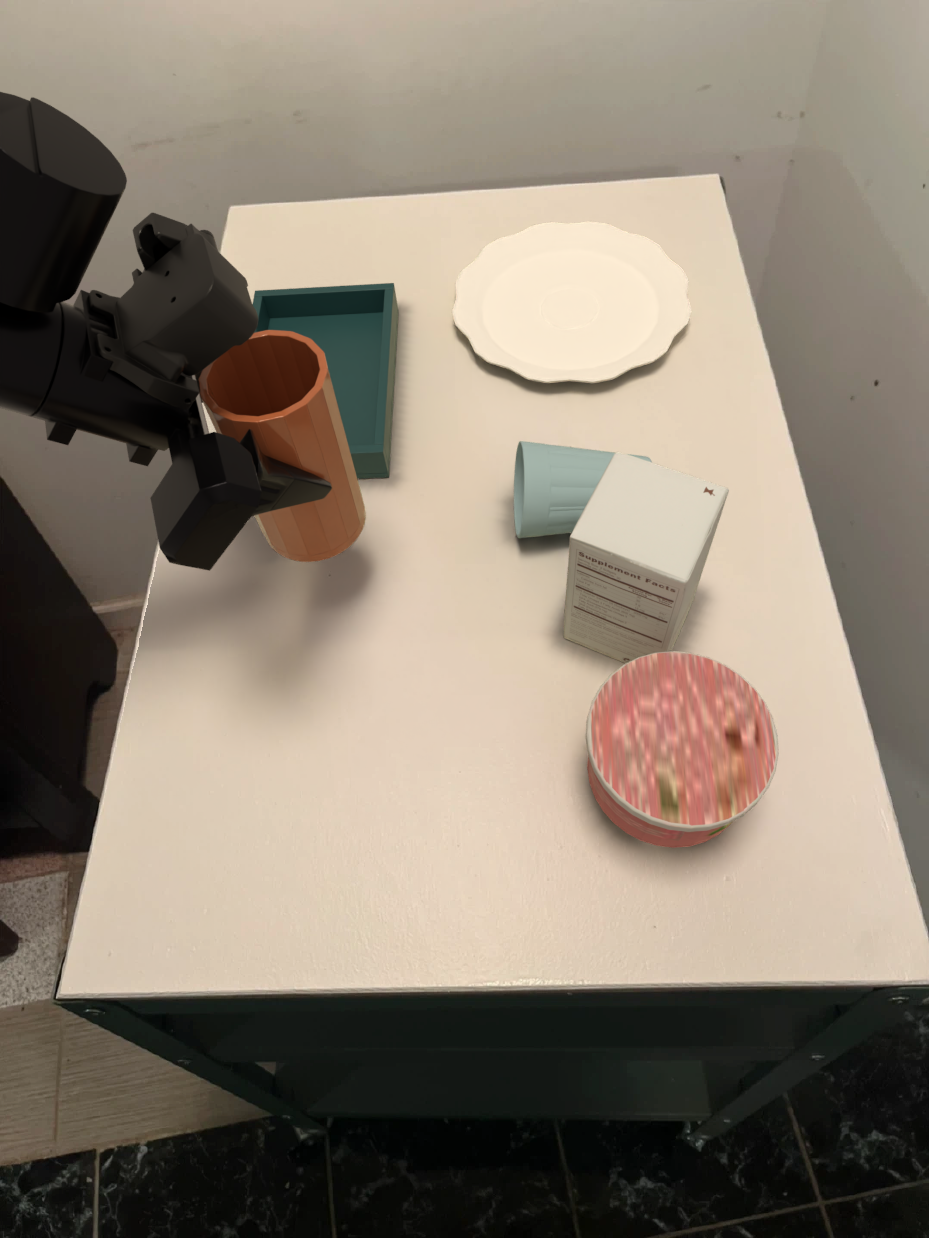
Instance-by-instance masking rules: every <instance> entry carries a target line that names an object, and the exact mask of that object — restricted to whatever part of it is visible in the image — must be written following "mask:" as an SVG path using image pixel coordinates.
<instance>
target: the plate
mask: <svg viewBox="0 0 929 1238" xmlns="http://www.w3.org/2000/svg"><path fill="white" fill-rule="evenodd" d="M689 283H690V282H689V278H688V276H687V274H686V272H685V271H684V268H683V267H682V266H680V265H679V264H678V263H676V262H675V261H674V260H672V259H671V258H670V257H669V256H668V255H667V253H666V252H665V250H664V249H663V248H662V246H661V245H660V244H659V243H657V242H655V241H654V240H653V239H651V238H649V237H647V236H645V235H642V234H637V233H634V232H630V231H626V230H623V229H621V228H619V227H617V226H615V225H612V224H610V223H607V222H600V221H594V220H593V221H592V220H588V221H580V222H557V221H547V222H542V223H537V224H532V225H530V226H528V227H526V228H524V229H522V230H520V231H518V232H516V233H512V234H508V235H506V236H505V235H504V236H502V237H498V238H495V239H494V240H493V241H491V242H489V243H487V244H486V245H485V246H483V247H482V249H481V250H480V252H479V253H478V255H477V256H476V257H475V259H474V260H472V262H470V263H469V264H468V265H466V266H465V267H464V268H462V269H461V270H460V271H459V274H458V275H457V278H456V279H455V282H454V288H455V301H454V304H453V306H452V310H451V315H452V318H453V322H454V325H455V328H457V329H458V330H459V332H461V333H462V334H463V336H464V337H466V338H467V339H468V342H469V344H470V345H471V348H472V349H473V352H474V353H475V355H477V356H478V357H479V358H481V359H482V360H484V362H486V363H488V364H490V365H493V366H497V367H500V368H503V369H507V370H509V371H511V372H513V373H515V374H516V375H518V376H520V377H522V378H524V379H525V380H526V381H527V380H528V381H532V382H537V383H543V384H553V383H563V382H576V383H584V384H585V383H587V384H597V383H602V382H607V381H608V382H609V381H611V380H612V381H613V380H614V379H617V378H619V377H620V376H621V375H624V374H625V373H627V372H629V371H630V370H633V369H636V368H639V367H643V366H647V365H650V364H653V363H654V362H656V361H658V360H659V359H660V358H661V357H663V356H664V355H665V354H667V353H668V350H669V349H670V347H671V345H672V343H673V341H674V339H675V337H677V336H678V334H680V333H681V332H682V330H684V329H685V328H686V327H687V326H688V324H689V320H690V317H691V314H692V312H693V311H692V306H691V303H690V300H689V296H688V292H689V291H688V290H689Z"/></svg>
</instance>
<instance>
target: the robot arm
mask: <svg viewBox="0 0 929 1238" xmlns="http://www.w3.org/2000/svg"><path fill="white" fill-rule="evenodd" d="M127 182H128V179H127V175H126V173H125V170H124V169H123V166H122V164H121V163H120V161H119V160H118V159H117V157H116V156H115V155H114V154H113V152H112V151H111V150H110V149H109V148H108V147H107V146H106V145H105V144H104V143H103V142H102V141H101V139H99V138H98V137H97V136H96V135H94V134H93V133H92V132H91V131H89V130H88V129H87V128H86V127H85V126H83V125H82V124H80V123H79V122H78V121H76V120H75V119H73V118H72V117H70V116H69V115H67V114H66V113H64V112H62V111H61V110H59V109H58V108H55V107H54V106H52V105H51V104H48V103H47V102H45V101H43V100H41V99H38V98H36V97H33V96H31V97H30V99H26V98H24V97H21V96H18V95H15V94H12V93H8V92H3V91H0V409H1V410H5V411H9V412H13V413H16V414H21V415H24V416H26V417H31V418H34V419H37V420H40V421H44V425H45V433H46V440H47V441H49V442H54V443H58V444H61V445H65V446H69V445H70V443H71V441H72V439H73V437H74V436H75V434H76V432H77V431H81V432H84V433H87V434H91V435H94V436H97V437H102V438H105V439H109V440H112V441H116V442H120V443H122V444H125V445H126V450H127V457H128V461H129V463H134V464H138V465H140V466H145V467H149V465H150V464H151V463H152V461H153V459H154V458H155V455H156V454H157V453H158V451H162V452H165V451H167V450H168V449H169V454H170V459H171V465H170V467H169V468H168V470H167V471H166V473H165V474H164V475H163V477H162V478H161V480H160V482H159V484H158V485H157V487H156V488H155V490H154V491H153V493H152V495H150V497H149V498H150V499H149V500H150V504H151V508H152V509H151V510H152V514H153V520H154V525H155V531H156V534H157V535H156V536H157V540H158V546H159V549H160V551H161V552H162V554H163V556H164V557H165V558H166V559H167V561H168V563H170V564H174V565H177V566H182V567H187V568H194V569H199V570H202V571H211V570H212V569H213V567H214V566H215V565H216V563H217V562H218V561H219V560H220V558H221V557H222V556H223V555H224V553H225V552H226V550H227V549H228V548H229V546H230V545H231V544H232V542H233V541H234V540H235V539H236V537H237V536H238V535H239V533H240V532H241V531H242V529H243V528H244V527H245V525H246V524H247V523H248V521H250V519H251V518H252V517H255V515H258V514H262V513H266V512H269V511H273V510H278V509H282V508H286V507H291V506H295V505H299V504H303V503H308V502H312V501H316V500H320V499H323V498H325V497H326V496H327V494H328V493H329V492H330V491H331V489H332V486H331V483H330V482H328V481H326V480H324V479H322V478H320V477H318V476H317V475H314V474H312V473H310V472H307V471H305V470H302V469H299V468H297V467H294V466H292V465H289V464H287V463H284V462H281V461H279V460H276V459H274V458H271V457H269V456H266V455H264V454H263V453H262V452H261V449H260V447H259V445H258V442H257V440H256V437H255V435H254V433H253V431H252V430H251V429H249V430H248V431H247V433H246V434H245V436H244V437H243V438H242V440H241V441H240V443H239V442H238V441H237V440H236V439H235V438H233V437H230V436H226V435H223V434H220V433H217V432H216V431H212V432H210V431H209V427H208V422H207V418H206V415H205V411H204V406H203V401H202V399H201V397H200V388H199V377H200V375H201V373H202V370H203V369H205V368H206V367H207V366H209V365H210V364H211V363H212V362H214V361H215V360H216V359H218V358H219V357H220V356H222V355H223V354H224V353H226V352H227V351H228V350H229V349H231V348H232V347H233V346H240V345H242V344H243V343H245V342H246V341H247V340H248V339H249V338H250V337H251V336H252V335H253V334H254V332H255V330H256V328H257V325H258V315H257V311H256V310H255V308H254V307H253V305H252V304H253V301H252V299H251V295H250V293H249V290H248V287H249V283H248V279H247V277H245V276H244V274H242V273H241V272H240V271H239V270H238V269H237V268H236V267H235V266H234V265H233V264H232V263H231V262H230V261H229V260H228V259H226V257H225V256H224V255H223V254H222V253H221V252H219V248H218V245H217V243H216V242H217V241H216V239H215V236H214V234H213V232H212V231H210V230H208V229H198V228H197V227H196V226H195V225H194V224H193V223H189V224H186V223H184V222H181V221H179V220H175V219H173V218H170V217H167V216H165V215H161V214H159V213H156V212H150V213H149V214H148V215H147V216H145V217H144V218H143V219H142V220H141V221H140V222H138V223H137V224H136V225H135V226H134V227H133V229H132V234H133V239H134V243H135V248H136V252H137V254H138V257H139V259H140V262H141V264H142V266H143V270H140V269H139V268H135V269H134V270H133V271H132V272H131V276H132V281H133V284H132V285H131V287H129V289H127V290H126V292H125V293H124V294H122V295H121V297H118V296H113V295H109V294H108V293H105V292H102V291H100V290H96V289H92V290H90V291H89V292H88V291H86V290H83V289H80V291H79V292H78V294H77V297H76V298H75V301H74V303H73V304H70V303H67V302H66V301H70V300H71V299H72V297H74V295H76V293H77V291H78V289H79V287H80V285H81V282H82V280H83V278H84V276H85V274H86V272H87V270H88V268H89V266H90V263H91V262H92V259H93V257H94V256H95V253H96V251H97V249H98V247H99V245H100V243H101V241H102V238H103V236H104V234H105V232H106V230H107V228H108V226H109V224H110V221H111V219H112V217H113V216H114V214H115V211H116V209H117V207H118V204H119V203H120V201H121V198H122V197H123V195H124V193H125V190H126V187H127Z"/></svg>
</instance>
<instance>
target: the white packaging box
mask: <svg viewBox="0 0 929 1238" xmlns="http://www.w3.org/2000/svg"><path fill="white" fill-rule="evenodd" d="M628 454H629V453H624V452H621V451H620V452H619V451H615V454H614V456H613V457H612V459H611V461H610V462H609V464H608V466H607V468H606V470H605V471H604V473H603V475H602V477H601V479H600V481H599V483H598V484H597V486H596V488H595V490H594V492H593V494H592V495H591V497H590V499H589V501H588V503H587V505H586V507H585V509H584V510H583V512H582V514H581V516H580V518H579V520H578V522H577V524H576V526H575V528H574V529H573V531H572V533H570V536H569V543H568V544H569V545H568V558H567V559H568V560H567V573H566V584H565V601H564V603H565V604H564V614H563V615H564V618H563V635H562V636H563V638H564V639H567V640H568V641H571V642H573V643H575V644H577V645H580V646H583V647H585V648H588V649H590V650H592V651H594V652H598V653H600V654H602V655H604V656H607V657H609V658H612V659H614V660H617V661H619V662H621V663H624V664H626V663H628V662H630V661H632V660H634V659H636V658H638V657H641V656H645V655H649V654H652V653H657V652H669V651H673V649H674V646H675V644H676V642H677V640H678V638H679V635H680V633H681V631H682V629H683V626H684V624H685V621H686V619H687V617H688V614H689V612H690V609H691V607H692V604H693V602H694V599H695V597H696V593H697V590H698V587H699V584H700V581H701V578H702V575H703V572H704V569H705V566H706V562H707V560H708V556H709V553H710V551H711V547H712V544H713V542H714V541H713V540H714V538H715V535H716V532H717V529H718V526H719V522H720V519H721V516H722V513H723V510H724V507H725V503H726V502H727V498H728V495H729V492H730V489H729V487H726V486H723V485H720V484H717V483H714V482H712V481H709V480H706V479H704V478H701V477H697V476H694V475H691V474H688V473H685V472H683V471H679V470H677V469H673V468H669V467H666V466H664V465H661V464H658V463H655V462H653V461H652V462H649V461H646V460H643V459H640V458H637V457H634V456H631V455H628Z"/></svg>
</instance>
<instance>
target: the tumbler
mask: <svg viewBox="0 0 929 1238" xmlns="http://www.w3.org/2000/svg"><path fill="white" fill-rule="evenodd" d="M199 388H200V397H201V399H202V401H203V403H202V405H204V406H203V407H204V408H205V411H206V412H207V415H208V417H209V419H210V421H211V423H212V426H213V428H214V430H215V432H217V433H220V434H223V435H226V436H230V437H233V438H235V439H236V440H237V441H238V442H239V443H240V441H241V440H242V438H243V437H244V436H245V434H246V433H247V431H248V430H249V429H251V430H252V431H253V433H254V435H255V437H256V440H257V442H258V445H259V447H260V449H261V452H262V453H263V454H264V455H266V456H269V457H271V458H274V459H276V460H279V461H281V462H284V463H287V464H289V465H292V466H294V467H297V468H299V469H302V470H305V471H307V472H310V473H312V474H314V475H317V476H318V477H320V478H322V479H324V480H326V481H328V482H330V483H331V486H332V489H331V491H330V492H329V493H328V494H327V496H326V497H325V498H323V499H320V500H316V501H312V502H308V503H303V504H299V505H295V506H291V507H286V508H282V509H278V510H273V511H269V512H266V513H262V514H258V515H255V516H254V519H255V520H256V523H257V524H258V527H259V529H260V531H261V533H262V535H263V536H264V538H265V540H266V542H267V544H268V545H269V546H270V547H271V549H272V550H273V551H275V552H276V553H277V554H279V555H280V556H282V557H283V558H286V559H288V560H291V561H295V562H301V563H314V562H322V561H325V560H328V559H331V558H334V557H336V556H338V555H340V554H342V553H343V552H344V551H346V550H347V549H349V548H350V547H351V546H352V545H353V544H354V543H355V542H356V541H357V540H358V538H359V537H360V535H361V534H362V532H363V530H364V527H365V524H366V519H367V511H366V506H365V502H364V498H363V493H362V489H361V486H360V482H359V479H358V478H357V474H356V470H355V467H354V463H353V459H352V455H351V452H350V448H349V444H348V440H347V436H346V433H345V429H344V425H343V421H342V417H341V414H340V410H339V406H338V402H337V399H336V395H335V391H334V387H333V383H332V380H331V376H330V372H329V368H328V364H327V361H326V357H325V353H324V352H323V351H322V350H321V349H320V347H319V346H318V345H317V344H316V343H315V342H314V341H313V340H312V339H310V338H308V337H305V336H303V335H300V334H298V333H295V332H291V331H280V330H265V331H260V332H256V333H254V334H253V335H252V336H251V337H250V338H249V339H248V340H247V341H246V342H245V343H243V344H242V345H240V346H233V347H232V348H231V349H229V350H228V351H227V352H226V353H224V354H223V355H222V356H220V357H219V358H218V359H216V360H215V361H214V362H212V363H211V364H210V365H209V366H207V367H206V368H205V369H203V370H202V373H201V375H200V377H199Z"/></svg>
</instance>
